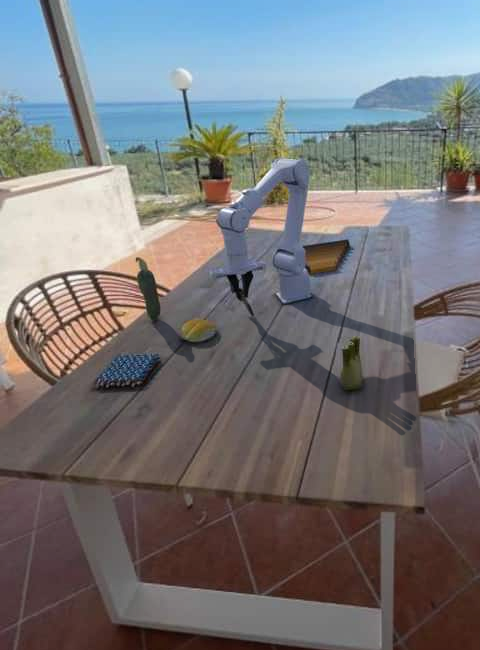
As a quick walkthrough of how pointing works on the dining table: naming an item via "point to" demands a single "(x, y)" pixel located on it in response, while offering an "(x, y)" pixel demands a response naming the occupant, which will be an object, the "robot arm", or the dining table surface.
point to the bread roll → (198, 330)
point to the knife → (243, 299)
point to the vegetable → (148, 289)
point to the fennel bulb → (351, 365)
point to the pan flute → (324, 255)
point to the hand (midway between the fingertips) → (242, 297)
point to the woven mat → (127, 370)
